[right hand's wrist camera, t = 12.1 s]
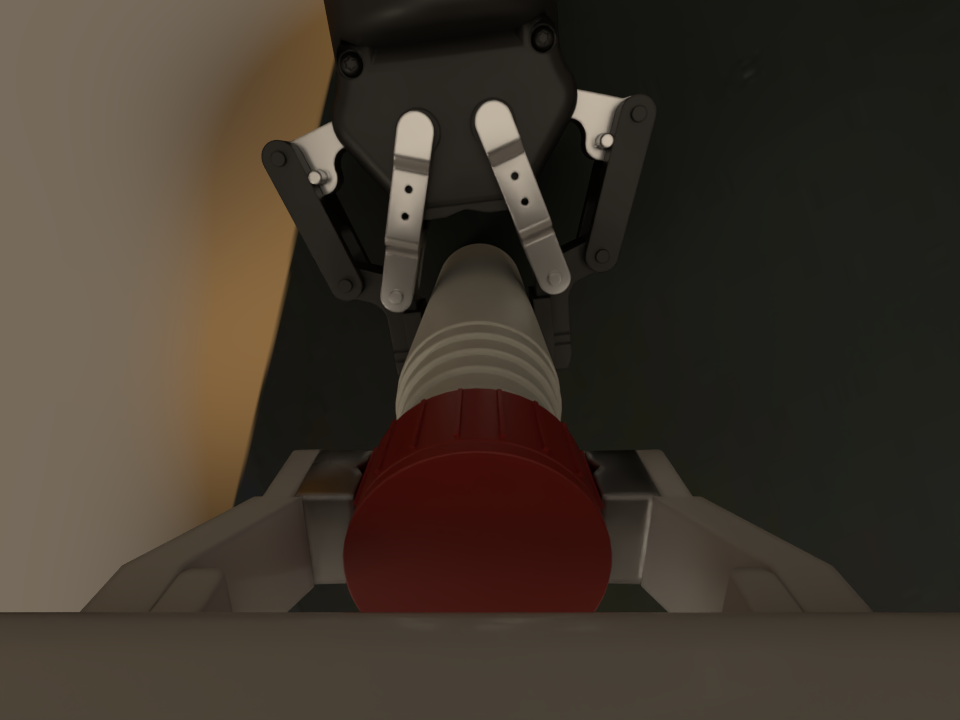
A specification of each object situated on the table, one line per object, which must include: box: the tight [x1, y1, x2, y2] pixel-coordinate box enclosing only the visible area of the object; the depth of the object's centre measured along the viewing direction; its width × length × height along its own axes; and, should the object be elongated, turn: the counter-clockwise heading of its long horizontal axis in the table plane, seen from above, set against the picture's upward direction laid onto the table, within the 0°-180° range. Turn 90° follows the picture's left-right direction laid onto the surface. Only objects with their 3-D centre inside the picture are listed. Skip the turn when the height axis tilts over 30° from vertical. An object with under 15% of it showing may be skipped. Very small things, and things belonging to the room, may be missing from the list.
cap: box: [343, 388, 612, 612], centre depth 9 cm, size 4×4×2 cm
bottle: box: [396, 244, 562, 422], centre depth 18 cm, size 4×4×20 cm
